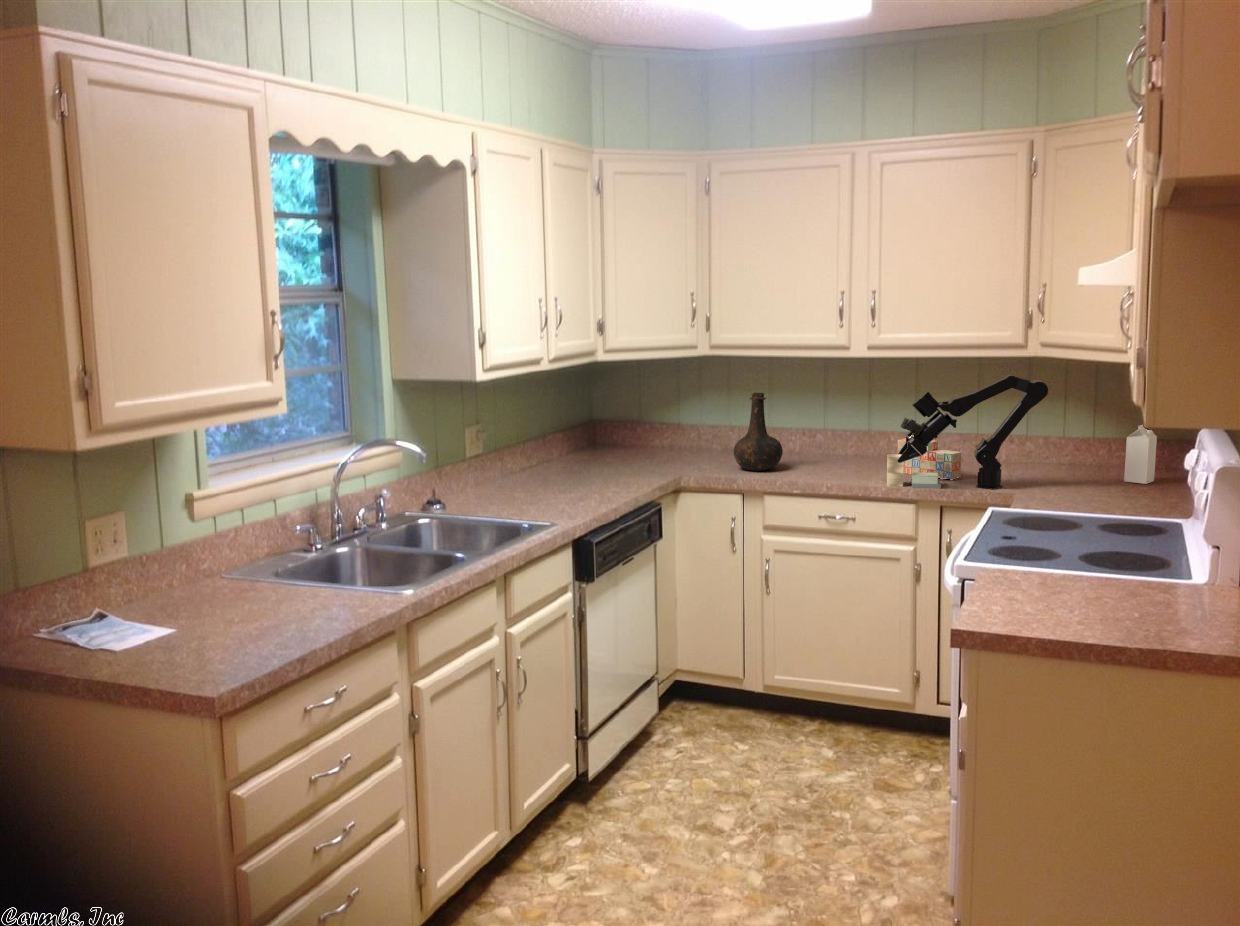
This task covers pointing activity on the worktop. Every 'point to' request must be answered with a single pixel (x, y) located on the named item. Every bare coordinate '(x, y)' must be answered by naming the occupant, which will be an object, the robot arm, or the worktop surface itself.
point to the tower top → (925, 478)
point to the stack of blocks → (933, 461)
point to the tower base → (926, 485)
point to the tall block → (894, 471)
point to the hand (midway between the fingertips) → (897, 459)
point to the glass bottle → (757, 441)
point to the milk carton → (1140, 456)
